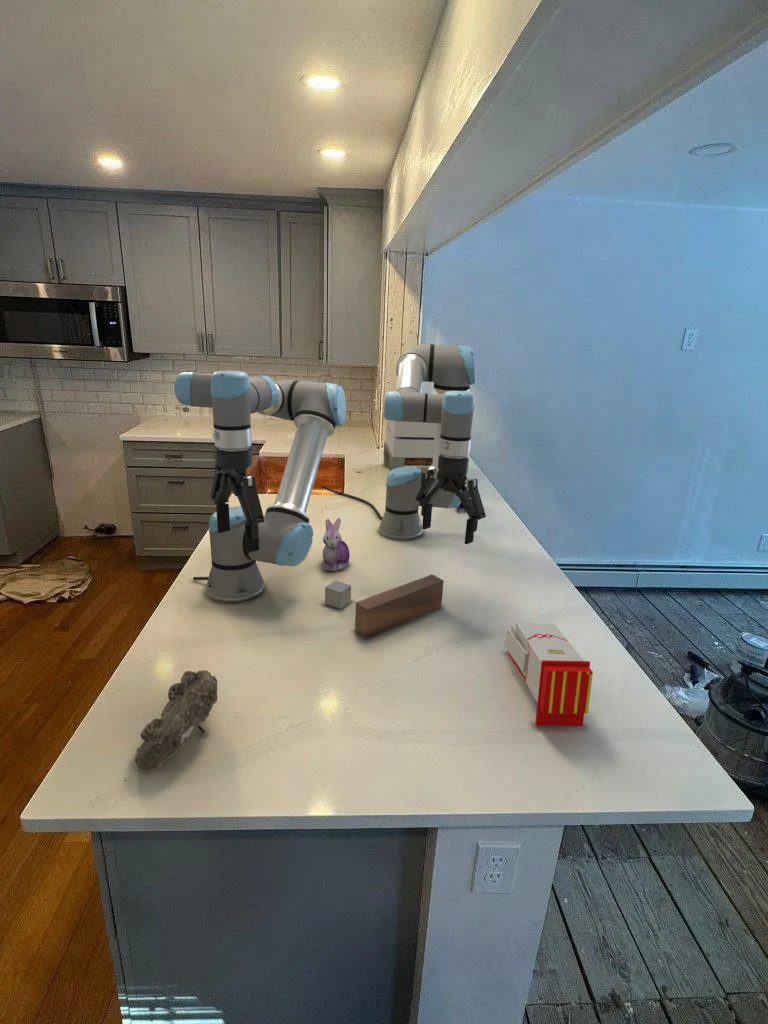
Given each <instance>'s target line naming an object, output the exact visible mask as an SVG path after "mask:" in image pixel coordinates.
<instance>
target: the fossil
mask: <svg viewBox="0 0 768 1024" xmlns="http://www.w3.org/2000/svg"><path fill="white" fill-rule="evenodd" d="M167 698H168V701H167V703H166V705H165V706H164V708H163V709H162V712H161V714H160V718H157V717H156V718H153V719H152V720H151V721H150V722H149V723H147V724H146V725H145V727H144V728H143V729H142V731H141V733H140V738H141V740H142V743H141V744H140V746H139V747H138V748H137V749H136V753H135V755H134V756H135V757H134V762H135V764H136V766H137V767H141V768H142V769H143V770H144V769H145V770H146V769H151V768H156V767H157V768H161V767H162V766H163V765H165V763H166V762H167V761H168V760H169V759H171V758H172V757H173V756H174V755H175V754H177V752H178V751H179V750H180V749H181V748H182V747H184V746H185V744H187V743H188V741H189V739H190V737H191V736H192V735H193V734H195V732H196V731H197V730H199V731H200V732H201V733H202V734H205V733H206V730H205V729H204V728H203V726H201V723H202V722H205V721H206V720H207V718H208V717H209V716H210V712H211V711H212V709H213V707H214V705H215V703H217V702H218V679H217V677H216V676H215V675H212V674H211V672H209V670H206V669H205V670H203V669H202V670H198V671H197V672H195V671H191V670H185V672H183V674H182V677H181V678H180V682H177V683H173V684H172V685H171V686H170V687H169V688H168V693H167Z"/></svg>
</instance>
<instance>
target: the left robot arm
mask: <svg viewBox="0 0 768 1024" xmlns="http://www.w3.org/2000/svg"><path fill="white" fill-rule="evenodd" d="M173 391H174V395H175V398H176V400H177V401H178V402H179V403H180V404H181V405H183V406H190V407H197V408H198V407H199V408H210V409H211V408H212V420H213V422H212V425H213V433H212V434H211V435H212V438H213V441H214V442H213V443H214V446H215V447H216V448H214V449H215V450H214V460H215V463H214V476H213V480H212V481H213V482H212V486H211V491H210V499H211V500H212V501H213V502H214V504H215V510H216V511H215V512H214V513H212V515H211V516H210V517H209V519H208V520H209V521H208V523H209V524H208V525H209V526H208V532H209V544H210V545H209V546H210V558H211V568H210V571H209V574H208V576H193V578H192V580H193V581H206V587H205V588H206V595H207V596H208V598H210V599H212V600H213V601H215V602H216V601H217V602H221V603H227V604H229V603H230V604H234V603H241V602H246V601H247V602H248V601H251V600H253V599H255V598H257V597H258V596H259V595H261V594H262V593H263V592H264V589H265V588H264V587H265V586H264V585H265V581H264V580H265V579H264V578H263V575H262V573H261V571H260V568H259V566H258V564H257V562H261V563H267V564H271V565H278V566H279V567H284V566H287V567H296V566H298V565H300V564H302V563H303V562H304V560H306V558H307V556H308V554H309V552H310V550H311V548H312V546H313V545H312V544H313V540H314V539H313V537H314V529H313V526H312V525H311V524H310V518H309V516H308V515H307V510H308V506H309V502H310V500H311V495H312V492H313V488H314V484H315V481H316V478H317V474H318V470H319V467H320V463H321V459H322V456H323V453H324V449H325V445H326V442H327V438H328V437H330V436H332V435H333V434H334V432H335V429H336V427H341V426H343V425H344V424H345V422H346V418H347V400H346V399H347V398H346V395H345V391H344V389H343V387H342V386H341V385H340V384H338V383H330V382H328V381H326V382H318V381H308V380H307V381H305V380H296V379H282V380H274V379H272V378H271V377H269V376H267V375H258V374H255V375H253V376H249V375H248V373H247V372H245V371H241V370H240V371H239V370H218V371H214V372H213V373H207V372H196V371H182V372H180V373H179V374H178V375H177V376H176V378H175V381H174V390H173ZM255 413H258V414H260V415H262V416H269V417H273V418H278V419H281V420H286V421H290V422H293V423H294V425H295V427H296V431H295V434H294V438H293V441H292V444H291V447H290V451H289V454H288V458H287V461H286V464H285V467H284V471H283V474H282V477H281V480H280V484H279V487H278V489H277V490H278V491H277V494H276V497H275V500H274V502H273V504H272V505H270V506H268V507H266V510H265V514H264V512H263V508H262V503H261V500H260V496H259V492H258V489H257V483H256V476H255V475H248V472H247V469H248V468H250V467H251V466H252V465H253V450H252V448H251V446H252V444H253V443H252V424H251V415H252V414H255ZM232 492H233V495H234V496H235V497H237V499H238V501H239V505H238V506H230V504H229V502H230V501H229V498H230V495H231V493H232Z"/></svg>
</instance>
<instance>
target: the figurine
mask: <svg viewBox="0 0 768 1024" xmlns="http://www.w3.org/2000/svg"><path fill="white" fill-rule="evenodd" d="M341 523H342V522H341V518H340V517H337V518H336V520H335V521H334V523H333V524H332V522H331V520H330V519H329V518H327V519H326V520H325V532H324V534H323V537H322V542H323V544H324V547H323V549H322V566H323V567H322V568H323V570H325V571H328V572H336V571H339V570H340V571H341V570H343V569H345V568H347V567H348V566H349V564H350V563H349V562H350V557H351V556H350V550H349V549H350V548H349V546H348V545H347V543H346V542H345V540H343V539H342V535H341V532H340V527H341Z"/></svg>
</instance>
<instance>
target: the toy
mask: <svg viewBox="0 0 768 1024" xmlns="http://www.w3.org/2000/svg"><path fill="white" fill-rule="evenodd" d="M503 645H504V647H505V649H506V650H507V655H508V656H509V658H510V659H511V662H513V664H514V666H515V667H516V669H517V670H518V672H519V673H520V675H521V676H522V679H523V680H524V681H525V683H526V686H527V687H528V689H529V690H530V693H531V694H532V696H533V698H534V700H535V701H536V703H537V704H536V714H535V722H534V723H535V726H537V727H541V726H542V727H583V726H584V719H585V715H586V714H587V715H588V714H589V706H590V705H589V704H590V699H591V691H592V683H593V682H592V681H593V674H594V673H593V672H594V671H593V670H592V669H591V668H590V667H591V661H590V660H584V659H583V658H582V657H581V655H580V654H579V653H578V651H577V650H576V649H575V648H574V647H573V645H572V644H571V643H570V642H569V640H568V639H567V638H566V636H564V633H562V632H561V630H560V629H559V628H558V627H557V625H556V624H555V623H553V622H515V624H511V625H510V628H506V630H505V638H504V644H503Z"/></svg>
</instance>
